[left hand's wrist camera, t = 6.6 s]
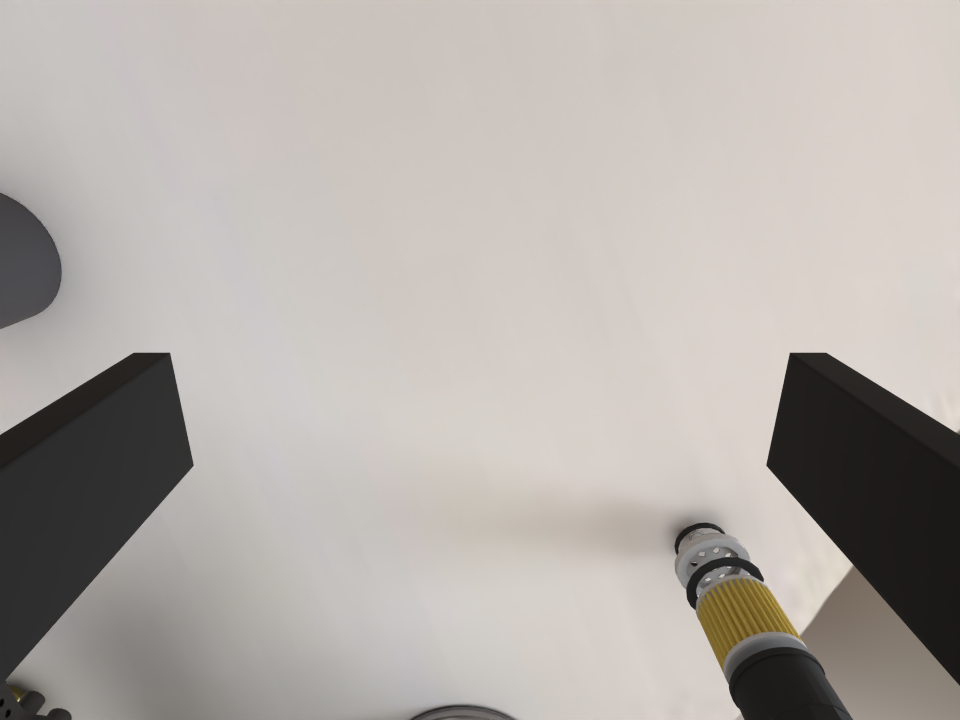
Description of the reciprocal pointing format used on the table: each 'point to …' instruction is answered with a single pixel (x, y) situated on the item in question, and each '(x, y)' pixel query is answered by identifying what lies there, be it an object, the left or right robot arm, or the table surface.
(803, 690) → the filter
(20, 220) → the jar
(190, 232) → the table surface
